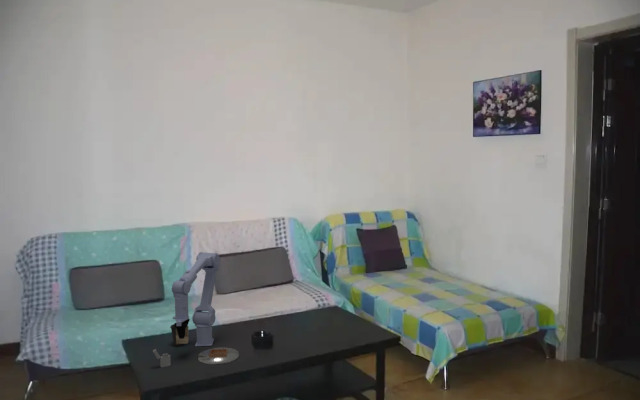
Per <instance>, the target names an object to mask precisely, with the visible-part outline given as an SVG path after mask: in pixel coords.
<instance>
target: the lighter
mask: <svg viewBox="0 0 640 400" xmlns="http://www.w3.org/2000/svg"><path fill="white" fill-rule="evenodd" d="M152 352H153V354H154V355H155V357H156V359H157V360H159V362H160V363H159V364H160V368H167V367H171V364H172V363H171V354H168V353H167V352H166V353H162V355H160V354H159V352H158V351H157V349H156V348H154V349H153V350H152Z"/></svg>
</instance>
